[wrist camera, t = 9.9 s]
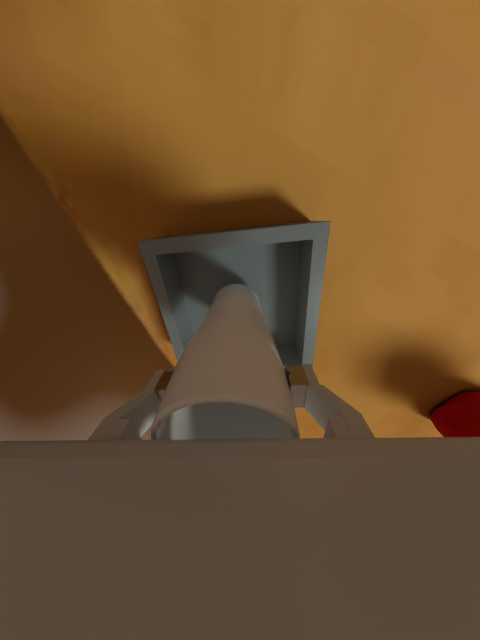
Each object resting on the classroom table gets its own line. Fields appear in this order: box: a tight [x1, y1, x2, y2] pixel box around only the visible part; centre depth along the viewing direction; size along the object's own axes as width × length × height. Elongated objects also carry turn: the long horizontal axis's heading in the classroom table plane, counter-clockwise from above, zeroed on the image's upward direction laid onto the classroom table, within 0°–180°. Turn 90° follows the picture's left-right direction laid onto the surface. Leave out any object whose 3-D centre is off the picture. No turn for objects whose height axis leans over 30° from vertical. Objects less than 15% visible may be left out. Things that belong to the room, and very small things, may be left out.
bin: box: [137, 221, 330, 369], centre depth 21 cm, size 16×16×5 cm
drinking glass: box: [151, 284, 300, 440], centre depth 15 cm, size 7×7×15 cm
